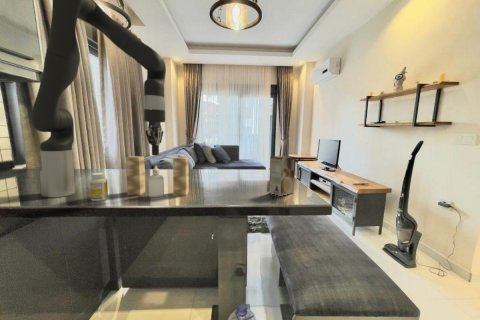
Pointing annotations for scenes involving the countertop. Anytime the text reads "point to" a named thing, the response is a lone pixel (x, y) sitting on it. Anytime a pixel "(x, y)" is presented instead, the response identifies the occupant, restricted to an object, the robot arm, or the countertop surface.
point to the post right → (180, 176)
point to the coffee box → (282, 175)
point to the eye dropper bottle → (156, 184)
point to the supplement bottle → (98, 187)
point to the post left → (135, 175)
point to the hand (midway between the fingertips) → (155, 154)
